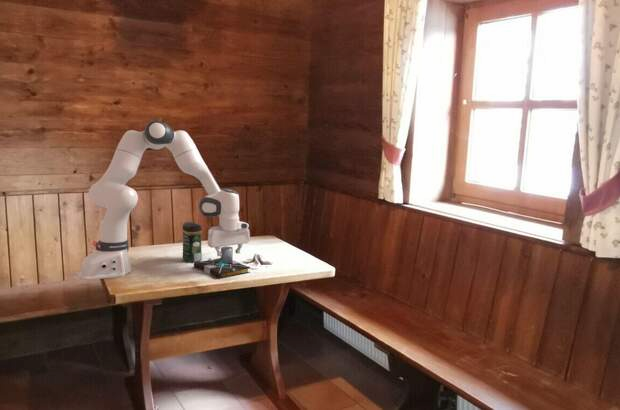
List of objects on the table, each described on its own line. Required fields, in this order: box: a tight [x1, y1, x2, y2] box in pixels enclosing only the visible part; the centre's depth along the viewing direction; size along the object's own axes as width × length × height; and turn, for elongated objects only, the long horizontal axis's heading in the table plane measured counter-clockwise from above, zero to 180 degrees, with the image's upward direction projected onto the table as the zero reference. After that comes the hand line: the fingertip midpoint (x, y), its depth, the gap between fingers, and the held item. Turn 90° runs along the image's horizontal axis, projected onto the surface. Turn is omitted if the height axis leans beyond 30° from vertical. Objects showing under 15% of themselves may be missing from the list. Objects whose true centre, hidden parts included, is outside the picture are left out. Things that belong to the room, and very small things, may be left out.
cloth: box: [238, 252, 277, 271], centre depth 250 cm, size 22×19×6 cm
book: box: [193, 257, 251, 280], centre depth 237 cm, size 22×17×5 cm
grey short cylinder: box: [220, 245, 234, 263], centre depth 238 cm, size 5×5×6 cm
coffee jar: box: [182, 221, 203, 263], centre depth 250 cm, size 10×8×19 cm
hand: (228, 254), depth 237 cm, fingers open, 8 cm apart
